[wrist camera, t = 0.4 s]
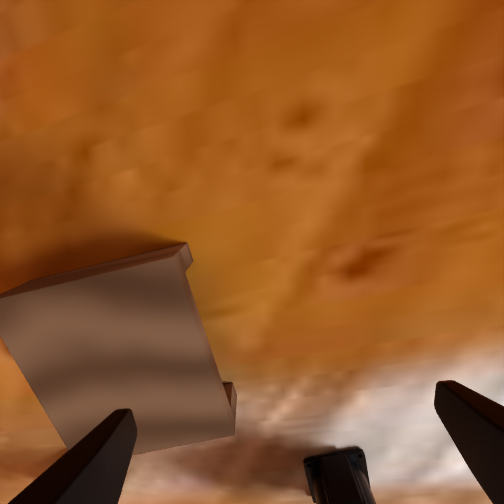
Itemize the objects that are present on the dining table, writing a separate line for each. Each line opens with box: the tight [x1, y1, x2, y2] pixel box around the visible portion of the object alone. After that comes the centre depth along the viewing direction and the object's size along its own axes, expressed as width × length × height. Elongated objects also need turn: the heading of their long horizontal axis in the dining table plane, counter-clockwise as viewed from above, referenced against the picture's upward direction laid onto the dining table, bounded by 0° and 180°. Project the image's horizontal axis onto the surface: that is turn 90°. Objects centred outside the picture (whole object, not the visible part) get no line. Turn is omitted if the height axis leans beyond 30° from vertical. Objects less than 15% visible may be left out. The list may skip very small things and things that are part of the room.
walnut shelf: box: [0, 243, 237, 455], centre depth 21 cm, size 16×14×4 cm
